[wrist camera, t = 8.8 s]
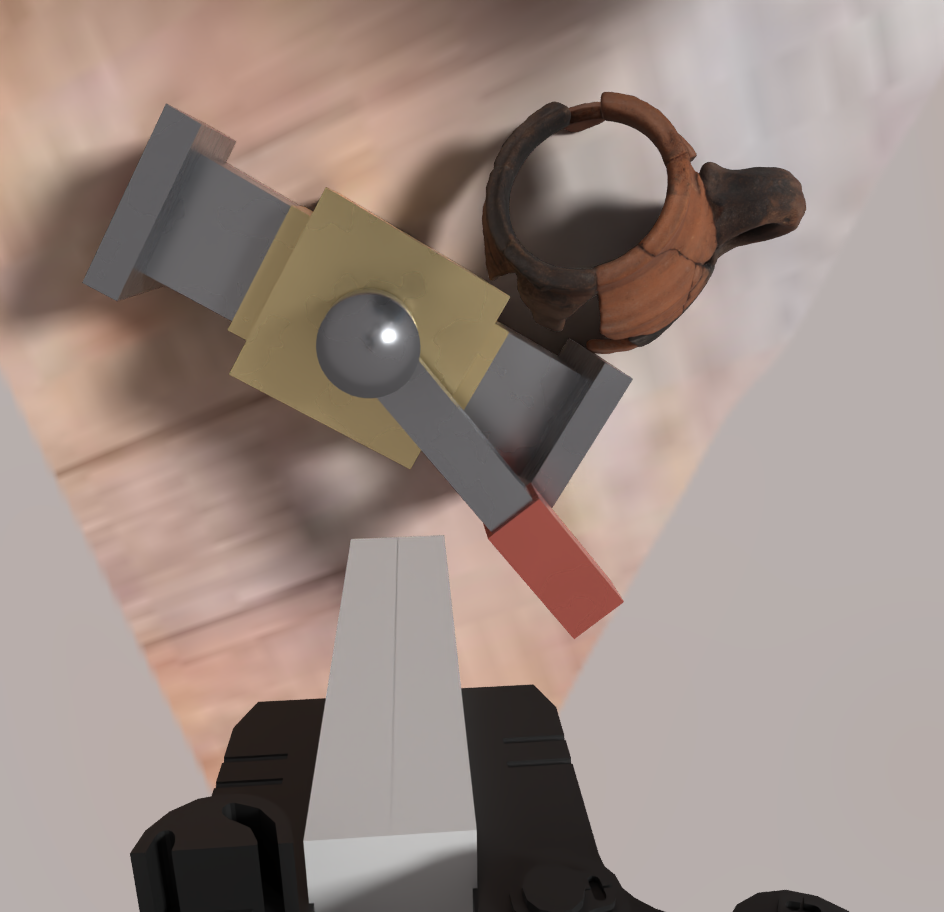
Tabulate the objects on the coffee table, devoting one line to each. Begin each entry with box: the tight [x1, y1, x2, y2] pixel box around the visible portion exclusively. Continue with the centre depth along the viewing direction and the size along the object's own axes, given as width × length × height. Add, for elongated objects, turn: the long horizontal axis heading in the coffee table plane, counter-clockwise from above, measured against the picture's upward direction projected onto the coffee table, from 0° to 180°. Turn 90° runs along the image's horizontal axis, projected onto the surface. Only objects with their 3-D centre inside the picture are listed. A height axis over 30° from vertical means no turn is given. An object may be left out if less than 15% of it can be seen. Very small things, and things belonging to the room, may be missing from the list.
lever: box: [316, 288, 624, 639], centre depth 28 cm, size 14×3×2 cm, turn 38°
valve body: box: [82, 104, 633, 508], centre depth 32 cm, size 7×18×7 cm, turn 60°
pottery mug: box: [482, 92, 806, 354], centre depth 33 cm, size 12×10×8 cm
